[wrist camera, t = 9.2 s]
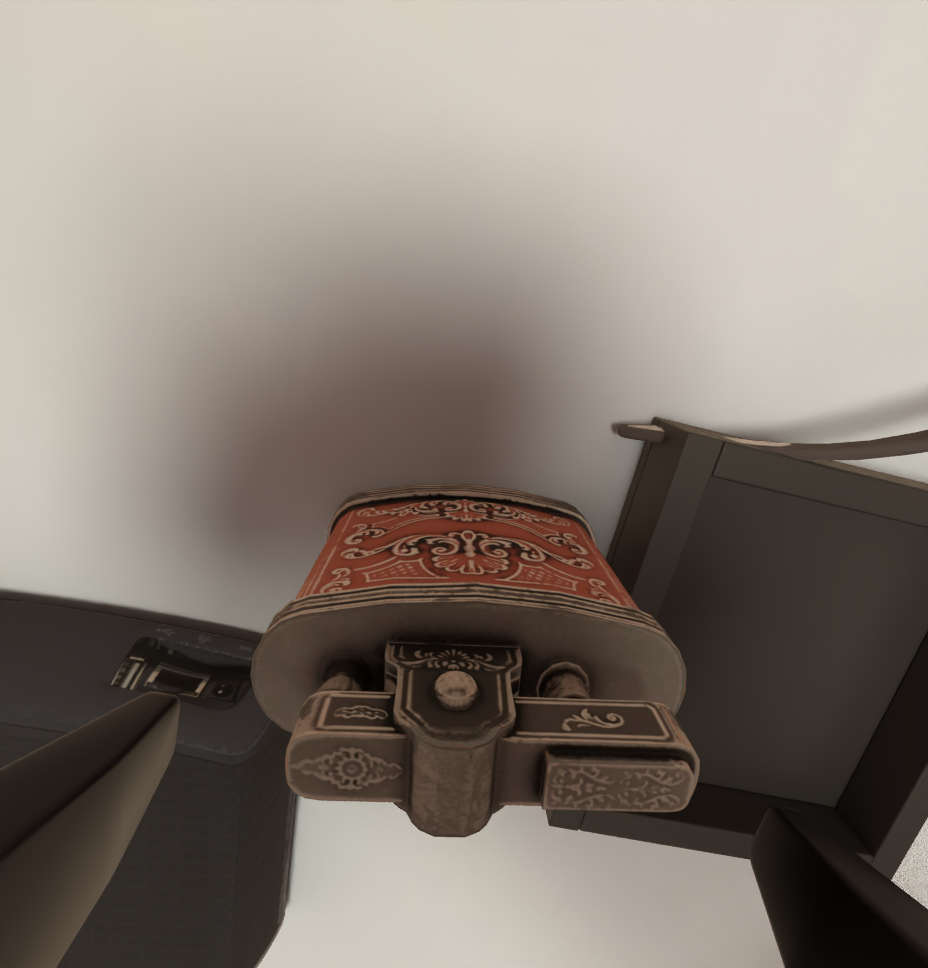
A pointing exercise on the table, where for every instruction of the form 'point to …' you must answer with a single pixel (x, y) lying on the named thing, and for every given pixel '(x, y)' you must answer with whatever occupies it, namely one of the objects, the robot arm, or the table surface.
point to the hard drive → (164, 783)
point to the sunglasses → (810, 445)
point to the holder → (782, 642)
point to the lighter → (473, 665)
